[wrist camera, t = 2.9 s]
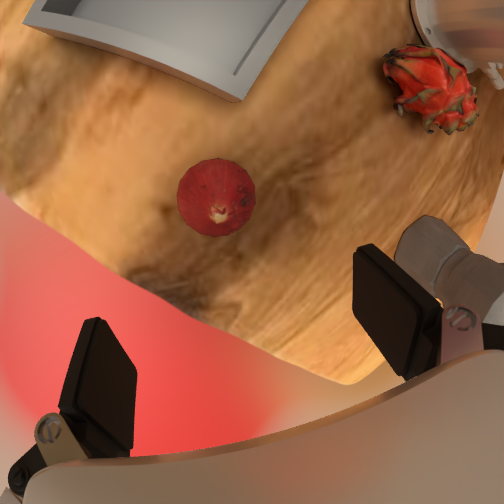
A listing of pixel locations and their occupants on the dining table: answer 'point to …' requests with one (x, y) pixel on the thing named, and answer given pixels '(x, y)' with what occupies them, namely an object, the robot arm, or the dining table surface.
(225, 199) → the onion
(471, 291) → the coffeepot
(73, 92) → the dining table surface
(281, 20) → the charcoal bin
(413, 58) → the dragon fruit
